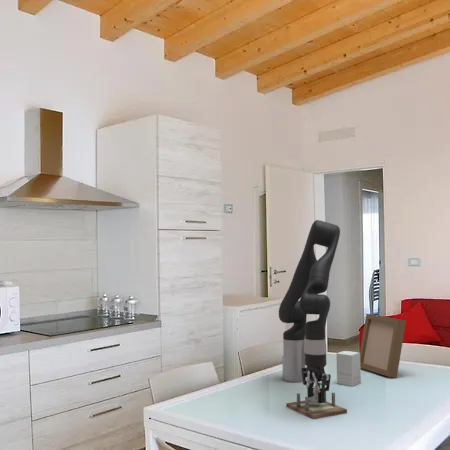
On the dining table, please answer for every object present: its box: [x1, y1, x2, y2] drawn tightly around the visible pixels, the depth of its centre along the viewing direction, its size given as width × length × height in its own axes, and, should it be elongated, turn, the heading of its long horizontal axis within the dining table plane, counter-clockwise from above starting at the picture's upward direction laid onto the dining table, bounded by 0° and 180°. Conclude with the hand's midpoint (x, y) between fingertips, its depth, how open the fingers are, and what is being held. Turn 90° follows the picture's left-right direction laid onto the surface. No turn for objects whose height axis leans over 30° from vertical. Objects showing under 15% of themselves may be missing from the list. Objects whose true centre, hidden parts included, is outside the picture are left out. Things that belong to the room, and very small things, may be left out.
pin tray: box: [285, 391, 348, 420], centre depth 191 cm, size 16×14×6 cm
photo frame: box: [359, 313, 407, 379], centre depth 247 cm, size 15×22×25 cm
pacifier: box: [309, 385, 318, 404], centre depth 191 cm, size 7×6×6 cm
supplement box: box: [335, 350, 362, 387], centre depth 227 cm, size 7×7×13 cm
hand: (315, 400), depth 191 cm, fingers closed on pacifier, 5 cm apart
